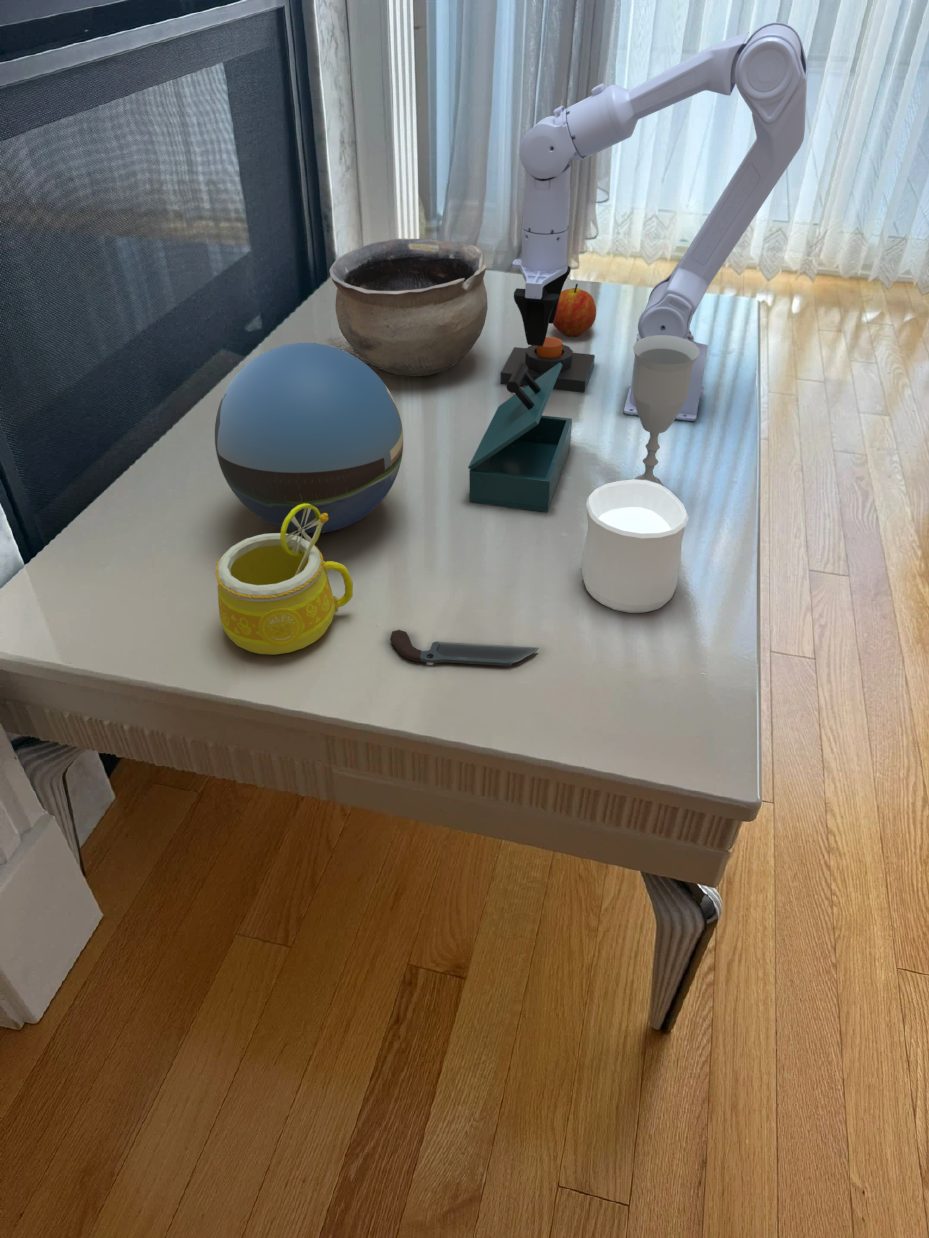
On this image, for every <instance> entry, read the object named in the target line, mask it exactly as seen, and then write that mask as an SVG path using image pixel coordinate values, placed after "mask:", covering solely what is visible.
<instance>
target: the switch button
mask: <svg viewBox="0 0 929 1238" xmlns="http://www.w3.org/2000/svg"><path fill="white" fill-rule="evenodd" d="M562 344H563V340H562V339H560V338H558V337H554V336H546V338H545V341H544V344H543V346H537V352H536V354H537V355H538V356H541V357H548V358H552V357H559V356H561V355H562Z"/></svg>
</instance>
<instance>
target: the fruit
mask: <svg viewBox="0 0 929 1238" xmlns="http://www.w3.org/2000/svg"><path fill="white" fill-rule="evenodd" d="M574 286H575V287H573V288H567V289H566V288H565V289H562V291H561V294H560V298H559V302H558V307H557V311H556V315H555V319H554V321H553V324H552V325H553V327H554V328H555V329H556V330H557V331H558V332H559V333H560V334H562V335H564V336H565V337H570V338H571V337H572V338H577V337H579V336H581V335H583V334H584V333H586V332H588V331H589V330H590V329H591V328H592V326H593V325H594V323H595V320H596V317H597V307H596V302H595V299H594V297H593V296H592V295H591V294H590V292H588V291H586V290H584V289H581V288H578V286H579V284H578V283H575V285H574Z"/></svg>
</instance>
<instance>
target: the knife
mask: <svg viewBox="0 0 929 1238" xmlns="http://www.w3.org/2000/svg"><path fill="white" fill-rule="evenodd" d="M389 639H390V642H391V644H392V646H393V647H394V648H395V650H397V652H398V653H399V655H401V656H402V657H404V658H406V659H408V660H410V661H413V662H419V663H420V662H422V663H428V664H438V663H455V664H470V665H471V664H472V665H488V666H503V667H504V666H505V667H506V666H507V667H508V666H509V667H510V666H513V665H512V664H516V663H519V662H521V661H523V660H524V659H526V658H528V657H530V656H532V655H533V654H535V653H536V652H537V651H538V650H539V649H540V648H539V647H538V646H537V647H536V646H518V645H504V644H503V645H502V644H500V645H499V644H486V643H485V644H484V643H468V642H467V643H466V642H449V641H434V642H432V643H431V646H430V648H429V650H421V649H419V648H416V647H414V645H413V644H412V641H411V639H410V636H409V634H408V633H407V631H404V630H401V629H397V630H396V629H395V630H392V631H391V635H390V638H389Z"/></svg>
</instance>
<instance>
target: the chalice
mask: <svg viewBox="0 0 929 1238" xmlns="http://www.w3.org/2000/svg"><path fill="white" fill-rule="evenodd" d="M636 341H637V340H636ZM636 341H635V342H634V344H633V346H632V350H633V353H634V357H635V356H636V366H635V374H634V382H633V396H634V401H635V405H636V410H637V413H638V415H637V416H638V418H639V421H640V424H641V427H642V428H643V430H644V431H646V432H648V433H649V439H648V441H647V443H646V444H645V446H644V447H645V448H646V449H645V450H646V451H647V454H646V456H645V457H644V458H643V459H642V463H643V465H644V469H645V470H644V473H643V474H640V475H638V476H636V477H635V478H634V479H636V480H648V481H651V482H654V483H657V484H660V485H662V486H663V487H664V483H663V482H662V481H661V479H659V478H658V477H657V476H655V475H654V469H655V466H657V465H658V464H659V460H658V459H657V458H656V456H657V455H656V454H657V451H658V450H659V449H660V445H659V435H660V434H663V433H665V432H667V431H668V430H669V428H670V427H671V425H673V422H674V421H675V420H676V419H675V418H676V417H677V415H678V414H679V412H680V410H681V408H682V407H683V405H684V403H685V401H686V399H687V396H688V391H689V385H690V379H691V373H692V366H693V363H694V361H695V360H696V359H697V357H698V355H699V353H700V351H699V348H698V347H697V346H696V345H695V344H694V343H693V342H691V341H689V340H687V339H683V338H680V337H675V336H668V335H656V336H649V337H645V338H642V339H640V340H638V341H637V342H636Z"/></svg>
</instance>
